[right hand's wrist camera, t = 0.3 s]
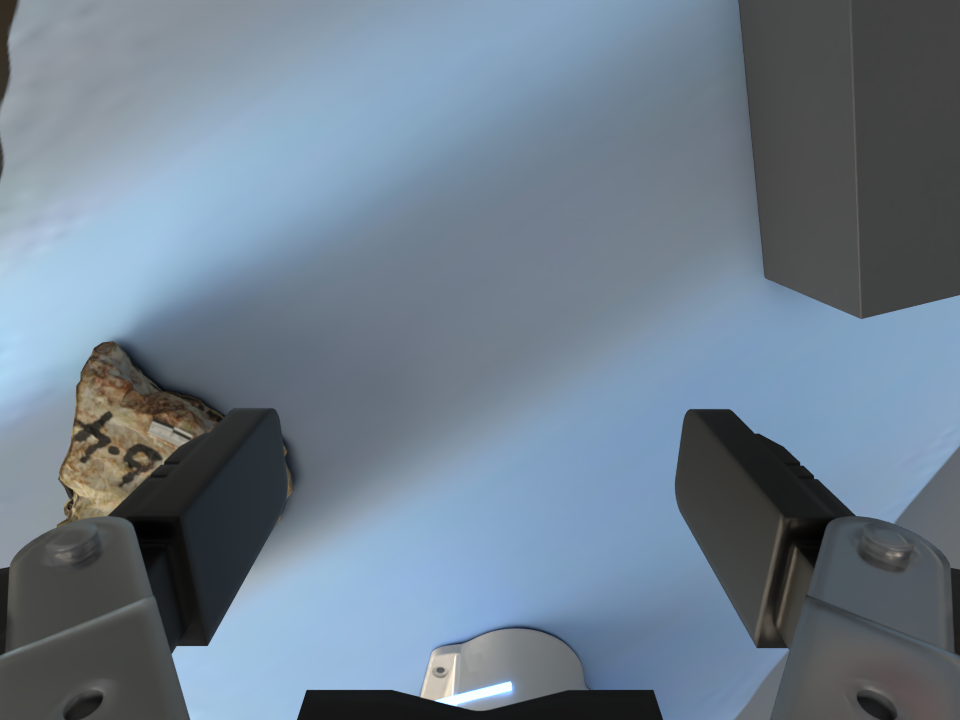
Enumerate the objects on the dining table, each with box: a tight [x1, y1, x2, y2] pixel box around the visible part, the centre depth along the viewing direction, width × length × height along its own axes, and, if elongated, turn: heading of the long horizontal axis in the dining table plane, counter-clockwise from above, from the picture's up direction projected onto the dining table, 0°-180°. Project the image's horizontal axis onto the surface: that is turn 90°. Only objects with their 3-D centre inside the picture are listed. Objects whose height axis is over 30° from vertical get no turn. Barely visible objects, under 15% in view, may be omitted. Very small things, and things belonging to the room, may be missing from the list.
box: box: [739, 0, 960, 319], centre depth 34 cm, size 28×6×12 cm, turn 15°
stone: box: [57, 341, 294, 527], centre depth 48 cm, size 19×6×25 cm
